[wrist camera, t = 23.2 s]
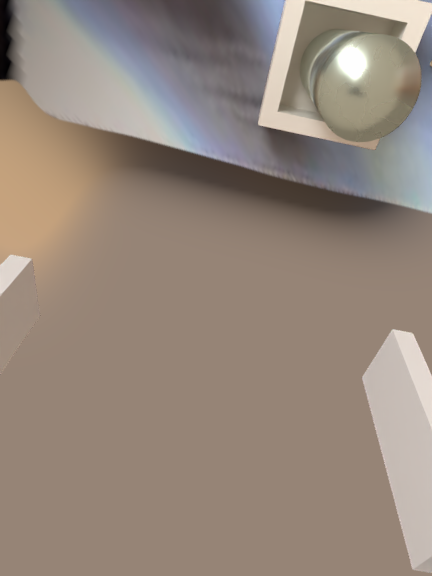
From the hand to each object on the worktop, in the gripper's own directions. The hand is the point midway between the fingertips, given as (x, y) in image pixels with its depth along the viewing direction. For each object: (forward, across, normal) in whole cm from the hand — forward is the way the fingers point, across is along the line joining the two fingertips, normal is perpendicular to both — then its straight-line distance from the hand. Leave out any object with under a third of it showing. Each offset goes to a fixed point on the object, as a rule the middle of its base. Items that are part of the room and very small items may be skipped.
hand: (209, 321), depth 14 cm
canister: (+32, +8, +6) cm, 34 cm away
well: (+34, +8, +6) cm, 35 cm away
